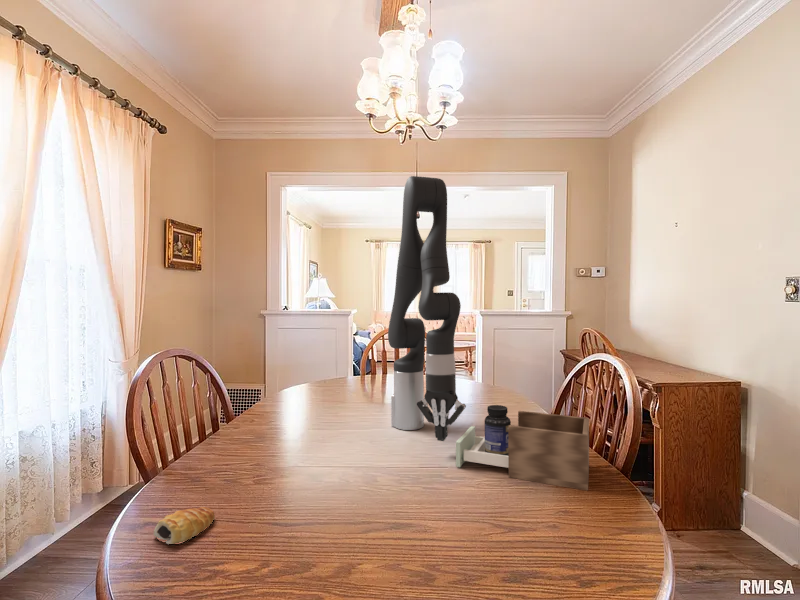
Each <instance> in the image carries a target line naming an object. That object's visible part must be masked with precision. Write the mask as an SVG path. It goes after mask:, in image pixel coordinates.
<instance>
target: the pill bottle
mask: <svg viewBox="0 0 800 600" xmlns="http://www.w3.org/2000/svg"><path fill="white" fill-rule="evenodd" d="M487 413H488V415H487V416H485V418H484V437H485V452H487V453H493V454H500V455H507V456H508V426H509V425H511V418H510V417H508V416H507V415H508V407H507V406H505V405H498V404H492V405H488V406H487Z"/></svg>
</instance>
